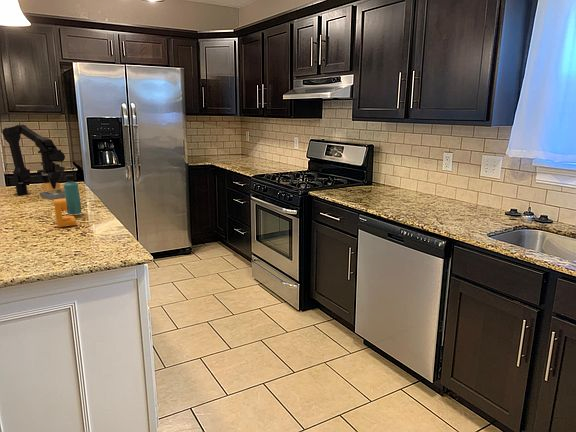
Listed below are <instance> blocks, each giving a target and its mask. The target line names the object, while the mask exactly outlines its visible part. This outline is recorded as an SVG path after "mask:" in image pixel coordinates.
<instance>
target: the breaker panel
mask: <svg viewBox="0 0 576 432" xmlns="http://www.w3.org/2000/svg"><path fill="white" fill-rule="evenodd" d="M39 197H41V198H44V199H46V200H50V201H51V200H53V201H54V200H55V199H65V191H64V189H62V188H60V190H56V193H53V194H49V193H48V191H41V192H39Z"/></svg>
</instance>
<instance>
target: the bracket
mask: <svg viewBox="0 0 576 432" xmlns="http://www.w3.org/2000/svg"><path fill="white" fill-rule="evenodd" d="M53 206H54V214H55V220H56V221H55V222H56V226H57V228H63V227H71V226H77V220H76V218H75V216H74V215H66V216H63V213H62V212H65V211H66V212H67V203H66V198H60V199H53Z"/></svg>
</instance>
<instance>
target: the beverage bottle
mask: <svg viewBox="0 0 576 432" xmlns="http://www.w3.org/2000/svg"><path fill="white" fill-rule="evenodd" d="M64 180H65V181H66V182H65V183H64V184H63V190H64V191H65V198H66V203H67V211H66V212H67V214H68V215H78V214H81V213H82V204H81V198H80V197H81V196H80V190H79V183H78V182H76V181H75V180H76V177H75V175H73V174H66V175H65V176H64ZM65 198H64V199H65Z"/></svg>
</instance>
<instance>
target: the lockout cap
mask: <svg viewBox="0 0 576 432" xmlns="http://www.w3.org/2000/svg"><path fill="white" fill-rule="evenodd" d="M41 189H42V190H43V191H44V192H47V191H53V190H60V189H61V184H60V182H58V181H57V182H56V187H55V189H53V188H52V186H51V184H50V183H44V182H43V183H41Z"/></svg>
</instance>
